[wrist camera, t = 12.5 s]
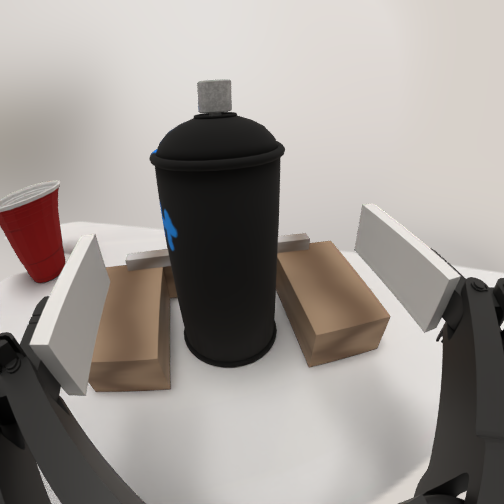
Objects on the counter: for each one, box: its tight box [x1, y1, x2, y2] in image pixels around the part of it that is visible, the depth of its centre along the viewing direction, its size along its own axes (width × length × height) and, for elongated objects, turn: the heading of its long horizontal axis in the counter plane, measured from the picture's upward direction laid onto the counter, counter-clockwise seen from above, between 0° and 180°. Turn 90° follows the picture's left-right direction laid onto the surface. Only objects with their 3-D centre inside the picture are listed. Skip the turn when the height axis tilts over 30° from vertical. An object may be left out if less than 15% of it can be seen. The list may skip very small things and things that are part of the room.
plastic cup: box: [0, 180, 65, 283], centre depth 30 cm, size 11×11×12 cm
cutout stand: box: [88, 233, 390, 392], centre depth 24 cm, size 24×12×5 cm, turn 102°
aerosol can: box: [150, 80, 285, 367], centre depth 20 cm, size 8×8×20 cm
